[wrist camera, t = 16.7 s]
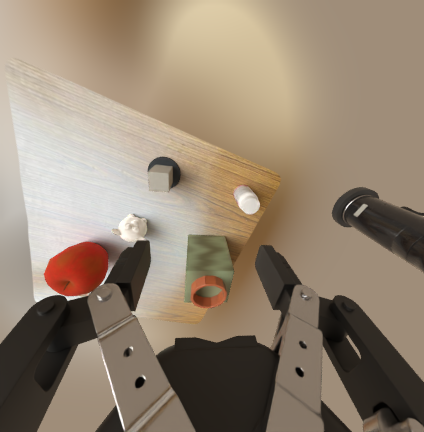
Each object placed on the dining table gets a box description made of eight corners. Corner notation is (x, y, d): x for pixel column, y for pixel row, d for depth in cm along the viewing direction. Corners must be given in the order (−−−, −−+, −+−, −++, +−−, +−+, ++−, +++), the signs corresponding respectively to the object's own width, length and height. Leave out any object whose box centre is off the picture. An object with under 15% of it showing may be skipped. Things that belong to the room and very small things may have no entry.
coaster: (180, 158, 40) (180, 158, 39) (180, 189, 43) (179, 190, 43) (147, 155, 39) (146, 155, 38) (149, 187, 42) (148, 187, 42)
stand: (224, 236, 51) (234, 271, 39) (220, 263, 56) (227, 302, 44) (188, 234, 50) (185, 270, 37) (186, 262, 55) (184, 302, 43)
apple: (124, 243, 49) (101, 283, 37) (109, 269, 53) (84, 313, 41) (78, 224, 45) (35, 262, 33) (66, 254, 49) (23, 297, 37)
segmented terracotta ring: (227, 275, 39) (229, 284, 37) (222, 298, 43) (223, 308, 41) (191, 275, 38) (191, 284, 36) (190, 298, 42) (189, 308, 40)
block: (172, 166, 40) (168, 173, 34) (172, 182, 42) (168, 192, 36) (155, 164, 39) (147, 171, 33) (156, 181, 41) (149, 191, 35)
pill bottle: (229, 195, 45) (236, 209, 38) (240, 180, 43) (249, 192, 36) (243, 204, 47) (252, 219, 39) (254, 190, 45) (266, 203, 38)
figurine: (153, 220, 47) (147, 234, 41) (146, 238, 49) (140, 253, 43) (123, 210, 44) (112, 222, 39) (118, 229, 47) (107, 243, 41)
